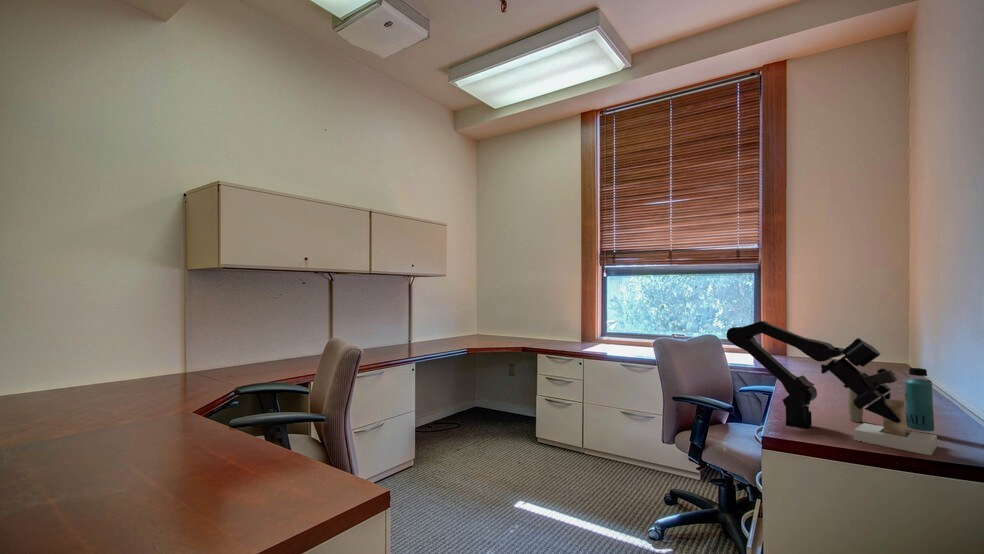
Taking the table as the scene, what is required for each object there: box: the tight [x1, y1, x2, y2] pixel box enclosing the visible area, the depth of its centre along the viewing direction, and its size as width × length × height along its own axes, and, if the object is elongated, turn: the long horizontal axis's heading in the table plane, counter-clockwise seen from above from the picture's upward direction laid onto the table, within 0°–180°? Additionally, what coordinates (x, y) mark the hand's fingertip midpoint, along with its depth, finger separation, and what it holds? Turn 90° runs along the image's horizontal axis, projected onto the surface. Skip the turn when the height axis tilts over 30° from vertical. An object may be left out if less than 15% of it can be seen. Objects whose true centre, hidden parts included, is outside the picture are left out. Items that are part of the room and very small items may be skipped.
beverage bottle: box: [904, 367, 935, 432], centre depth 137 cm, size 6×7×20 cm
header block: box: [853, 422, 938, 456], centre depth 127 cm, size 16×12×3 cm
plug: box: [882, 398, 906, 437], centre depth 127 cm, size 4×4×12 cm
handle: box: [847, 388, 864, 423], centre depth 151 cm, size 5×6×15 cm
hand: (900, 420), depth 126 cm, fingers closed on plug, 4 cm apart
